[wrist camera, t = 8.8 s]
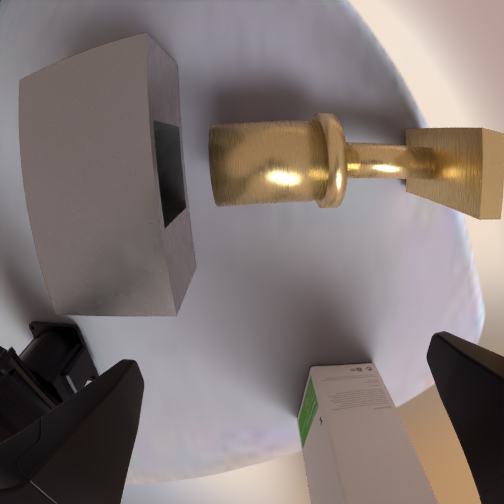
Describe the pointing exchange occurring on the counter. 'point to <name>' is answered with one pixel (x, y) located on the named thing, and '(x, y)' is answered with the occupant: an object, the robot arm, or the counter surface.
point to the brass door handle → (354, 164)
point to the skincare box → (357, 441)
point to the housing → (108, 180)
